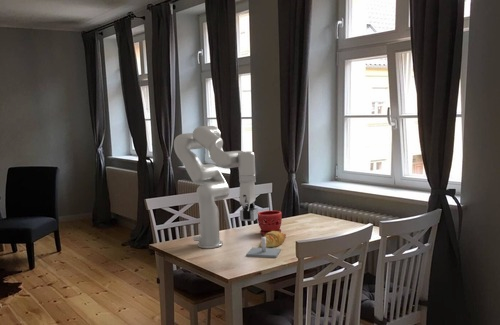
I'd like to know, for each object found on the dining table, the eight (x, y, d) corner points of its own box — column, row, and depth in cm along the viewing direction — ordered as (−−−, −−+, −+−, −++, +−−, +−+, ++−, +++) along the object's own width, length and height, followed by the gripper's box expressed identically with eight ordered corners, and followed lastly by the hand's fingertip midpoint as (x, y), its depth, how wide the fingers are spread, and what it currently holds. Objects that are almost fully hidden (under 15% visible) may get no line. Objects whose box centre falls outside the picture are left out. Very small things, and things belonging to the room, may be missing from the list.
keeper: (246, 256, 209) (245, 240, 208) (252, 249, 220) (252, 234, 219) (276, 257, 205) (275, 241, 205) (281, 250, 216) (280, 235, 215)
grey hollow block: (240, 220, 206) (239, 210, 206) (244, 217, 212) (244, 208, 212) (253, 220, 204) (253, 211, 204) (257, 217, 210) (257, 208, 210)
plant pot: (282, 230, 254) (281, 209, 253) (281, 237, 241) (281, 214, 240) (259, 231, 255) (258, 210, 254) (257, 237, 242) (256, 215, 241)
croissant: (265, 257, 218) (271, 244, 215) (250, 245, 223) (255, 232, 220) (288, 245, 235) (294, 233, 232) (274, 234, 240) (279, 222, 237)
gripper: (245, 176, 216) (247, 213, 218) (233, 181, 200) (235, 221, 201) (260, 176, 214) (262, 214, 215) (249, 181, 197) (251, 222, 199)
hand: (249, 217), depth 208 cm, fingers closed on grey hollow block, 6 cm apart
